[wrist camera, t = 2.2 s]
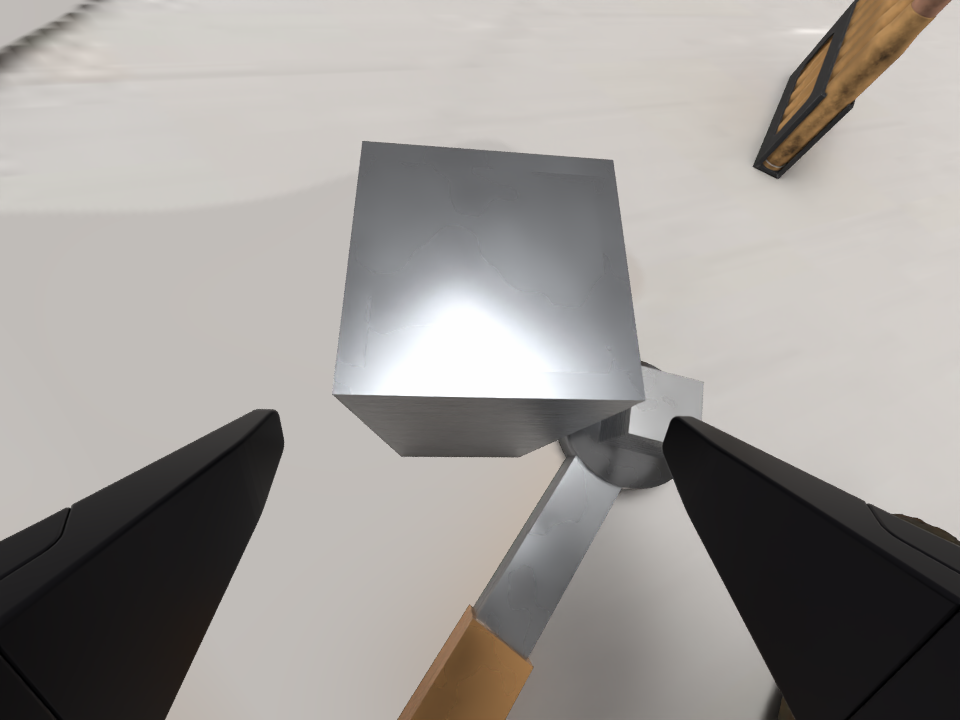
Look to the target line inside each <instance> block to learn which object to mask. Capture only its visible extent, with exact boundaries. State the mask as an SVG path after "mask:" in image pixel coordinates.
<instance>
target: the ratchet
mask: <svg viewBox="0 0 960 720" xmlns="http://www.w3.org/2000/svg"><path fill="white" fill-rule="evenodd" d="M641 368H642V376H643V383H644V390H645V398H646V401H644V402H641V403H639V404H637V405H635V406H633V407H630V408H628V409H626V410H624V411H621V412H619V413H617V414H615V415H612V416H610V417H608V418H606V419H603V420H601V421H599V422H597V423H595V424H592V425H590V426H588V427H586V428H583V429H581V430H579V431H577V432H574V433H572V434H570V435H568V436H565V437H563V438H561V439H559V443H560V445H561V448H562V450H563V452H564V454H565V456H566V459H565V460H564V462H563V464H562V465H561V467H560V468H559V470H558V472H557V473H556V475H555V477H554V478H553V480H552V481H551V483H550V485H549V486H548V488H547V489H546V491H545V493H544V494H543V496H542V497H541V499H540V501H539V502H538V504H537V505H536V507H535V509H534V510H533V512H532V513H531V515H530V517H529V518H528V520H527V522H526V523H525V525H524V527H523V528H522V530H521V531H520V533H519V535H518V536H517V538H516V539H515V541H514V542H513V544H512V546H511V547H510V549H509V551H508V552H507V554H506V555H505V557H504V559H503V560H502V562H501V563H500V565H499V567H498V568H497V570H496V572H495V573H494V575H493V576H492V578H491V579H490V581H489V583H488V584H487V586H486V588H485V589H484V591H483V592H482V594H481V596H480V597H479V599H478V601H477V602H476V604H475V606H474V607H472V606H471V605H469V606H468V607H467V609H466V611H465V612H464V614H463V615H462V617H461V619H460V620H459V622H458V623H457V625H456V627H455V628H454V630H453V631H452V633H451V635H450V636H449V638H448V639H447V641H446V643H445V644H444V646H443V647H442V649H441V651H440V652H439V654H438V655H437V657H436V659H435V660H434V662H433V663H432V665H431V667H430V668H429V670H428V671H427V673H426V674H425V676H424V678H423V679H422V681H421V682H420V684H419V686H418V687H417V689H416V691H415V692H414V694H413V695H412V697H411V698H410V700H409V702H408V703H407V705H406V706H405V708H404V710H403V711H402V713H401V715H400V716H399V718H398V719H397V720H505V719H506V717H507V715H508V713H509V711H510V710H511V708H512V706H513V704H514V702H515V700H516V698H517V697H518V695H519V693H520V691H521V689H522V687H523V686H524V684H525V682H526V680H527V678H528V676H529V675H530V673H531V671H532V669H533V666H532V664H531V662H530V660H529V658H528V657H529V655H530V653H531V651H532V649H533V648H534V646H535V644H536V642H537V640H538V638H539V637H540V635H541V633H542V631H543V629H544V628H545V626H546V624H547V622H548V620H549V619H550V617H551V615H552V613H553V611H554V610H555V608H556V606H557V604H558V602H559V601H560V599H561V597H562V595H563V593H564V591H565V590H566V588H567V586H568V584H569V582H570V581H571V579H572V577H573V575H574V573H575V572H576V570H577V568H578V566H579V564H580V563H581V561H582V559H583V557H584V555H585V553H586V552H587V550H588V548H589V546H590V544H591V543H592V541H593V539H594V537H595V535H596V534H597V532H598V530H599V528H600V526H601V525H602V523H603V521H604V519H605V517H606V516H607V514H608V512H609V510H610V508H611V506H612V505H613V503H614V501H615V499H616V497H617V496H618V494H619V492H620V490H621V489H644V488H652V487H656V486H659V485H662V484H664V483H666V482H668V481H670V480H671V479H673V477H672V475H671V472H670V470H669V467H668V465H667V462H666V460H665V457H664V454H663V450H662V445H663V441H664V438H665V435H666V432H667V429H668V426H669V423H670V421H671V419H672V418H673V417H675V416H692V417H694V418H696V419H699V420H701V421H702V405H703V385H704V382H702V381H698V380H694V379H691V378H687V377H683V376H679V375H675V374H671V373H667V372H664V371H661V370H659V369H658V368H656V367H654V366H652V365H650V364H648V363H646V362H643V361H641Z"/></svg>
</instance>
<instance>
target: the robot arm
mask: <svg viewBox="0 0 960 720" xmlns="http://www.w3.org/2000/svg"><path fill="white" fill-rule="evenodd" d="M283 449H284V437H283V432H282V427H281V422H280V417H279V414H278V412H277V411H276V410H273V409H256V410H253V411H252V412H250V413H248V414H246V415H244V416H242V417H240V418H238V419H236V420H234V421H232V422H231V423H229V424H227V425H225V426H223V427H221V428H219V429H217V430H215V431H213V432H211V433H209V434H207V435H205V436H204V437H201V438H200V439H198V440H196V441H194V442H192V443H190V444H188V445H186V446H184V447H182V448H180V449H178V450H177V451H175V452H173V453H171V454H169V455H167V456H165V457H163V458H161V459H159V460H157V461H155V462H153V463H151V464H150V465H148V466H146V467H144V468H142V469H140V470H138V471H136V472H134V473H132V474H131V475H128V476H126V477H124V478H123V479H121V480H119V481H117V482H115V483H113V484H111V485H109V486H108V487H105V488H103V489H101V490H99V491H98V492H96V493H94V494H92V495H90V496H88V497H86V498H84V499H82V500H80V501H78V502H77V503H74V504H73V505H72V506H71V508H65V509H63V510H61V511H59V512H57V513H55V514H53V515H51V516H49V517H47V518H46V519H44V520H42V521H40V522H38V523H36V524H34V525H32V526H30V527H28V528H26V529H24V530H22V531H20V532H18V533H16V534H14V535H12V536H10V537H8V538H6V539H4V540H2V541H0V720H165V719H166V716H167V714H168V712H169V710H170V708H171V706H172V704H173V702H174V699H175V697H176V695H177V693H178V691H179V689H180V687H181V685H182V682H183V680H184V678H185V676H186V674H187V672H188V670H189V668H190V665H191V663H192V661H193V659H194V657H195V655H196V652H197V651H198V648H199V646H200V644H201V642H202V640H203V638H204V635H205V634H206V631H207V629H208V627H209V625H210V623H211V621H212V619H213V617H214V614H215V612H216V610H217V608H218V606H219V603H220V602H221V600H222V597H223V595H224V593H225V591H226V589H227V587H228V585H229V583H230V580H231V578H232V576H233V574H234V572H235V570H236V568H237V566H238V563H239V561H240V559H241V557H242V555H243V553H244V551H245V548H246V546H247V544H248V542H249V540H250V538H251V536H252V533H253V532H254V529H255V527H256V525H257V523H258V521H259V518H260V516H261V514H262V511H263V509H264V506H265V503H266V500H267V497H268V494H269V491H270V488H271V485H272V482H273V479H274V476H275V473H276V470H277V467H278V464H279V461H280V458H281V456H282V453H283ZM662 450H663V454H664V457H665V460H666V462H667V465H668V467H669V470H670V472H671V475H672V477H673V480H674V482H675V485H676V487H677V490H678V492H679V495H680V497H681V500H682V502H683V504H684V507H685V509H686V511H687V513H688V515H689V517H690V519H691V521H692V523H693V525H694V527H695V529H696V531H697V533H698V535H699V537H700V539H701V541H702V542H703V544H704V546H705V548H706V550H707V552H708V554H709V556H710V558H711V560H712V562H713V563H714V565H715V567H716V569H717V571H718V573H719V575H720V577H721V579H722V581H723V583H724V585H725V586H726V588H727V590H728V592H729V594H730V596H731V598H732V600H733V602H734V604H735V606H736V608H737V609H738V611H739V613H740V615H741V617H742V619H743V621H744V623H745V625H746V627H747V629H748V631H749V632H750V634H751V636H752V638H753V640H754V642H755V644H756V646H757V648H758V650H759V652H760V653H761V655H762V657H763V659H764V661H765V663H766V665H767V667H768V669H769V671H770V673H771V675H772V676H773V678H774V680H775V682H776V684H777V686H778V688H779V690H780V692H781V694H782V696H783V698H784V699H785V701H786V703H787V705H788V707H789V709H790V711H791V713H792V715H793V717H794V719H795V720H960V546H958V545H956V544H954V543H951V542H949V541H947V540H945V539H943V538H940V537H938V536H936V535H934V534H932V533H930V532H927V531H925V530H923V529H921V528H919V527H917V526H915V525H913V524H911V523H909V522H907V521H905V520H902V519H900V518H898V517H896V516H894V515H892V514H890V513H888V512H886V511H884V510H882V509H880V508H878V507H876V506H874V505H872V504H866V502H865V501H863V500H861V499H859V498H857V497H855V496H853V495H851V494H849V493H847V492H845V491H843V490H841V489H839V488H837V487H835V486H833V485H831V484H829V483H827V482H825V481H823V480H821V479H819V478H817V477H815V476H812V475H810V474H808V473H806V472H804V471H802V470H800V469H798V468H796V467H794V466H792V465H790V464H788V463H786V462H784V461H782V460H780V459H778V458H776V457H774V456H772V455H770V454H768V453H766V452H764V451H762V450H760V449H758V448H756V447H753V446H751V445H749V444H747V443H745V442H743V441H741V440H739V439H737V438H735V437H733V436H731V435H729V434H727V433H725V432H723V431H721V430H719V429H717V428H715V427H713V426H711V425H709V424H707V423H705V422H703V421H701V420H699V419H696V418H694V417H692V416H675V417H673V418H672V419H671V421H670V423H669V426H668V429H667V432H666V435H665V438H664V441H663V445H662Z"/></svg>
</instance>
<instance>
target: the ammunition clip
mask: <svg viewBox="0 0 960 720" xmlns="http://www.w3.org/2000/svg"><path fill="white" fill-rule="evenodd" d="M950 1H951V0H855V1H854V2H853V3H852V4H851V5H850V6H849V8H848V9H847V10H846V11H845V12H844V14H843V15H842V16H841V17H840V18H839V19H838V21H837V22H836V23H835V24H834V25H833V27H832V28H831V29H830V30H829V31H828V32H827V34H826V35H825V36H824V37H823V38H822V40H821V41H820V42H819V43H818V44H817V45H816V47H815V48H814V49H813V50H812V51H811V53H810V54H809V55H808V56H807V57H806V58H805V60H804V61H803V62H802V63H801V64H800V66H799V67H798V68H797V69H796V70H795V71H794V73H793V74H792V75H791V76H790V78H789V81H788V83H787V85H786V88H785V90H784V93H783V95H782V98H781V100H780V102H779V105H778V107H777V110H776V112H775V114H774V117H773V119H772V122H771V124H770V126H769V129H768V131H767V134H766V136H765V138H764V141H763V143H762V146H761V148H760V151H759V153H758V155H757V158H756V160H755V163H754V165H753V166H754V167H756V168H758V169H760V170H762V171H764V172H766V173H768V174H770V175H772V176H774V177H776V178H778V179H779V178H780V177H781V176H782V175H783V174H784V173H785V172H786V171H787V170H788V169H789V168H790V167H791V166H792V165H793V164H794V163H795V162H797V161H798V160H799V159H800V158H801V157H802V156H803V155H804V154H805V153H806V152H807V151H808V150H809V149H810V148H811V147H812V146H813V145H814V144H815V143H816V142H817V141H819V140H820V139H821V138H822V137H823V136H824V135H825V134H826V133H827V132H828V131H829V130H830V129H831V128H832V127H833V126H834V125H835V124H836V123H837V122H838V121H839V120H841V119H842V118H843V117H844V116H845V115H846V114H847V113H848V112H849V111H850V110H851V109H852V108H853V106H854V103H855V99H856V98H857V97H858V96H859V95H860V94H861V93H862V92H863V91H864V90H865V89H866V88H867V87H868V86H870V85H871V84H872V83H873V82H874V81H875V80H876V79H877V78H878V77H879V76H880V75H881V74H882V73H883V72H884V71H885V70H886V69H887V68H888V67H889V66H890V65H891V64H892V63H894V62H895V61H896V60H897V59H898V58H899V57H900V56H901V55H902V54H903V53H904V51H905V50H906V49H907V48H908V47H909V45H910V44H911V43H912V42H913V40H914V39H915V38H916V37H917V35H918V34H919V33H920V32H921V31H922V30H923V29H924V28H925V27H926V26H927V25H928V24H929V23H930V22H931V21H932V20H933V19H934V18H935V17H936V15H937V14H938V13H939V12H940V11H941V10H942V9H943V8H944V7H945V6H946V5H947V4H948V3H949V2H950Z"/></svg>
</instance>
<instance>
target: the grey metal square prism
mask: <svg viewBox="0 0 960 720" xmlns="http://www.w3.org/2000/svg"><path fill="white" fill-rule="evenodd" d="M332 395H334V396H335V397H336V398H337V399H338V400H339V401H340V402H341V403H342V404H344V405H345V406H346V407H347V408H348V409H349V410H350V411H352V413H354V414H355V415H356V416H357V417H358V418H359V419H360V420H361V421H362V422H364V423H365V424H366V425H367V426H368V427H369V428H370V429H371V430H372V431H374V432H375V433H376V434H377V435H378V436H379V437H380V438H381V439H382V440H383V441H385V442H386V443H387V444H388V445H389V446H390V447H391V448H392V449H394V450H395V451H396V452H397V453H398V454H399V455H400V456H402V457H403V456H404V457H407V456H408V457H409V456H410V457H411V456H412V457H521V456H523V455H525V454H527V453H530V452H532V451H534V450H536V449H539V448H541V447H543V446H545V445H548V444H550V443H552V442H554V441H557V440H559V439H561V438H563V437H565V436H568V435H570V434H572V433H574V432H577V431H579V430H581V429H583V428H586V427H588V426H590V425H592V424H595V423H597V422H599V421H601V420H603V419H606V418H608V417H610V416H612V415H615V414H617V413H619V412H621V411H624V410H626V409H628V408H630V407H633V406H635V405H637V404H639V403H641V402H644V401H646V398H645V390H644V383H643V376H642V368H641V361H640V354H639V346H638V339H637V332H636V324H635V317H634V310H633V302H632V295H631V288H630V281H629V273H628V266H627V259H626V251H625V244H624V237H623V229H622V222H621V215H620V207H619V200H618V193H617V185H616V178H615V171H614V163H613V160H606V159H593V158H579V157H566V156H553V155H540V154H527V153H514V152H501V151H486V150H474V149H461V148H448V147H435V146H422V145H408V144H395V143H382V142H369V141H362V149H361V158H360V166H359V174H358V184H357V192H356V200H355V208H354V216H353V224H352V233H351V241H350V250H349V258H348V267H347V275H346V283H345V291H344V300H343V309H342V317H341V325H340V333H339V341H338V350H337V358H336V366H335V375H334V383H333V391H332Z"/></svg>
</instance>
